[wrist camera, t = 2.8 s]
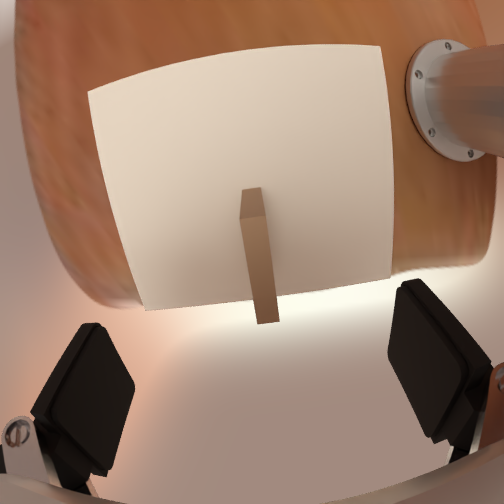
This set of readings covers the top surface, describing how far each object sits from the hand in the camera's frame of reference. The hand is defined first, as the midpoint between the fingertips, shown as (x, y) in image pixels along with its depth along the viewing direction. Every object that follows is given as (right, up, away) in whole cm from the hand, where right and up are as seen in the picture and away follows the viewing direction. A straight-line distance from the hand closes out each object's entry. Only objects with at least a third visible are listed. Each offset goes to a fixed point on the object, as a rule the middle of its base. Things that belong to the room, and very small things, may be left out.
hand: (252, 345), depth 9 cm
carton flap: (0, +7, +7) cm, 10 cm away
